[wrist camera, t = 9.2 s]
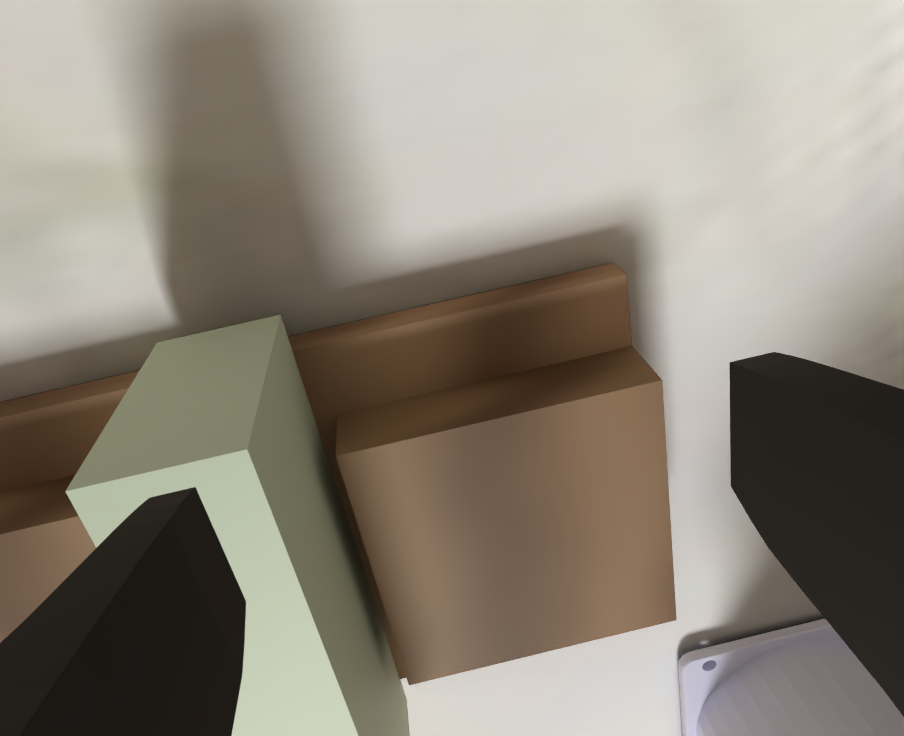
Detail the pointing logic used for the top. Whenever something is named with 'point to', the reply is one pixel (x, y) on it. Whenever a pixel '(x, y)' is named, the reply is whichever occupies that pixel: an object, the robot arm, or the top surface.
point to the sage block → (256, 524)
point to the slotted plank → (434, 472)
